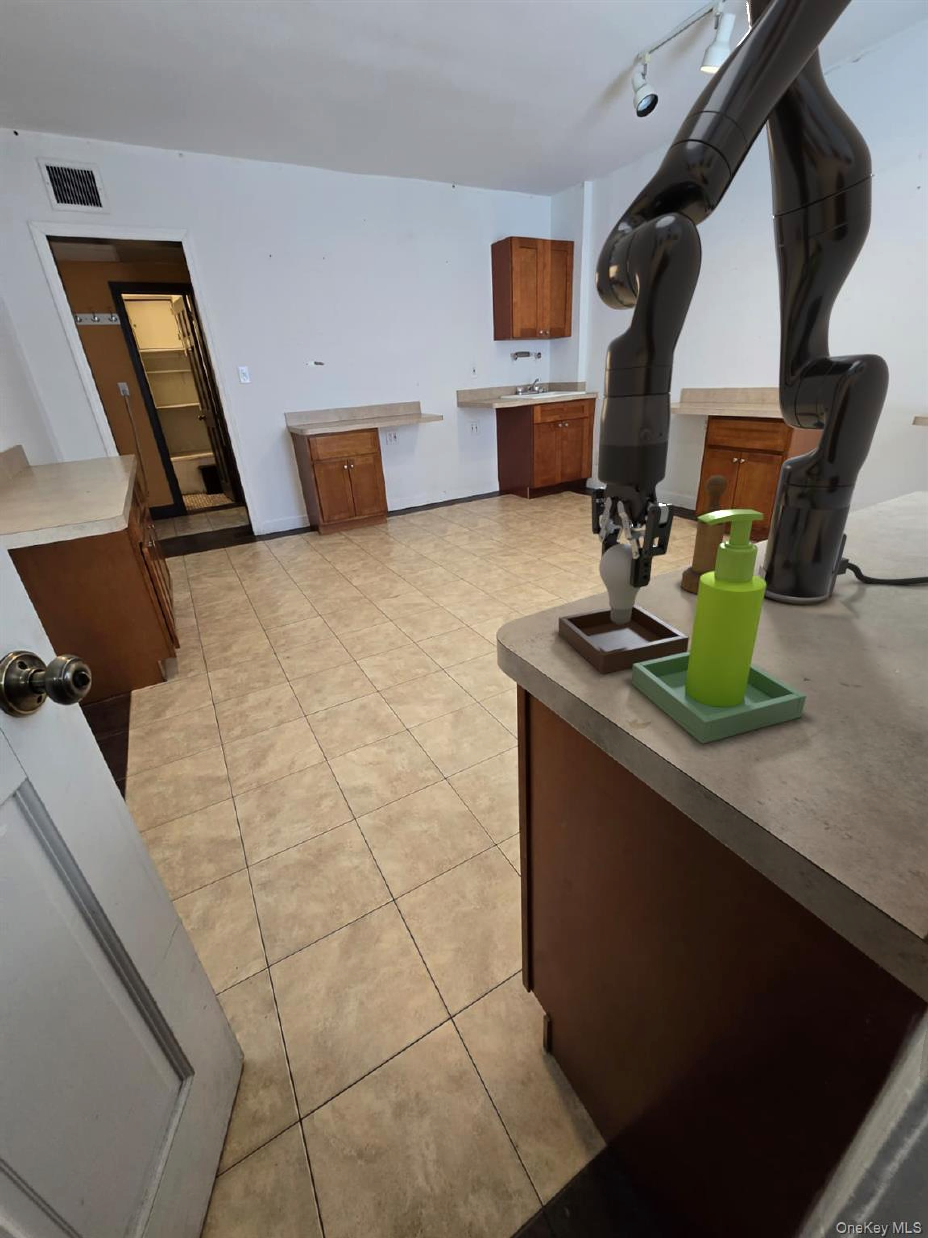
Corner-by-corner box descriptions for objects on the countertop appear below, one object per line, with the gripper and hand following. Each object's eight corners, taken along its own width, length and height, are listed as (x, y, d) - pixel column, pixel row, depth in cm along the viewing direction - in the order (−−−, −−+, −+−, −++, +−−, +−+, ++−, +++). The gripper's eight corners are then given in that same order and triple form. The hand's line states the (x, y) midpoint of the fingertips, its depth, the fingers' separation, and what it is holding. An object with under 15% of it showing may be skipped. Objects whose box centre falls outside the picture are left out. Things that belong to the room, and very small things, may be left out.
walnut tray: (632, 619, 75) (633, 602, 74) (686, 655, 65) (689, 637, 64) (558, 633, 73) (558, 617, 72) (602, 674, 62) (603, 655, 61)
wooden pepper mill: (728, 595, 81) (747, 479, 74) (684, 594, 82) (698, 480, 75) (718, 580, 87) (734, 471, 79) (677, 579, 88) (690, 473, 81)
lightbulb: (645, 616, 69) (652, 537, 65) (643, 636, 64) (651, 552, 59) (598, 613, 71) (602, 536, 67) (593, 632, 66) (597, 550, 61)
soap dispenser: (666, 681, 59) (687, 507, 50) (725, 675, 59) (755, 501, 51) (691, 711, 53) (719, 521, 45) (755, 704, 54) (795, 515, 45)
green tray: (717, 663, 63) (720, 644, 62) (801, 717, 52) (806, 695, 51) (631, 683, 60) (632, 663, 59) (701, 744, 49) (705, 722, 48)
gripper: (705, 440, 52) (686, 592, 59) (626, 431, 65) (618, 557, 72) (641, 446, 51) (629, 602, 58) (573, 436, 63) (570, 565, 70)
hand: (623, 577), depth 65 cm, fingers closed on lightbulb, 6 cm apart
